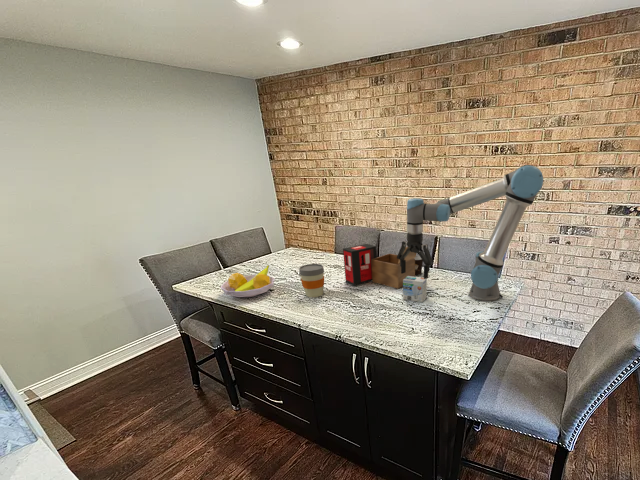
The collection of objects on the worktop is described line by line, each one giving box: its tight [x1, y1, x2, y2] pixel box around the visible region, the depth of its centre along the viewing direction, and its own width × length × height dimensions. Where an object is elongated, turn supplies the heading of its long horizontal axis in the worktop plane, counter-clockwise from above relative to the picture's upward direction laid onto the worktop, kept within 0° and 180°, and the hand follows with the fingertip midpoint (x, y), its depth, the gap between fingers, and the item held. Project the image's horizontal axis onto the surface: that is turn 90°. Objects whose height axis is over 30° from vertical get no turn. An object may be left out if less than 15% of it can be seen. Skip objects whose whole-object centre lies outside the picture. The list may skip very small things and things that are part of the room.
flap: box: [398, 246, 418, 264], centre depth 182 cm, size 9×16×1 cm
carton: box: [371, 253, 416, 290], centre depth 193 cm, size 19×16×14 cm
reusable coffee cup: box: [298, 263, 325, 298], centre depth 176 cm, size 13×13×15 cm
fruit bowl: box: [220, 264, 276, 298], centre depth 181 cm, size 28×27×11 cm
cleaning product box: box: [342, 243, 377, 287], centre depth 194 cm, size 16×9×20 cm, turn 131°
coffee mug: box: [415, 255, 424, 276], centre depth 207 cm, size 12×9×10 cm
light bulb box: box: [402, 276, 428, 303], centre depth 169 cm, size 11×7×11 cm, turn 68°
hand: (414, 275), depth 167 cm, fingers open, 13 cm apart
